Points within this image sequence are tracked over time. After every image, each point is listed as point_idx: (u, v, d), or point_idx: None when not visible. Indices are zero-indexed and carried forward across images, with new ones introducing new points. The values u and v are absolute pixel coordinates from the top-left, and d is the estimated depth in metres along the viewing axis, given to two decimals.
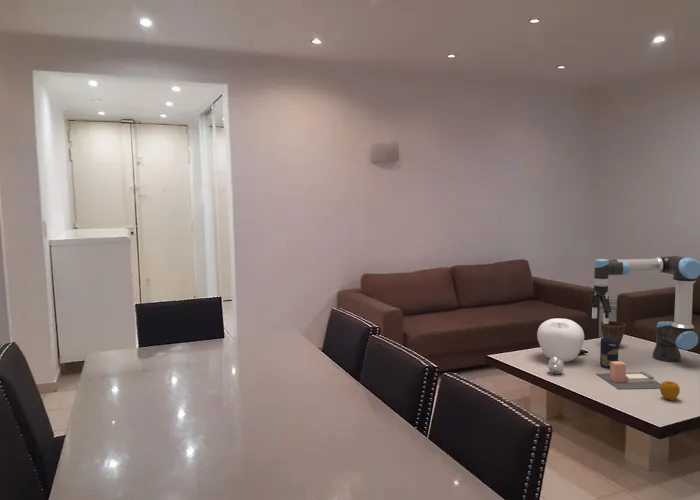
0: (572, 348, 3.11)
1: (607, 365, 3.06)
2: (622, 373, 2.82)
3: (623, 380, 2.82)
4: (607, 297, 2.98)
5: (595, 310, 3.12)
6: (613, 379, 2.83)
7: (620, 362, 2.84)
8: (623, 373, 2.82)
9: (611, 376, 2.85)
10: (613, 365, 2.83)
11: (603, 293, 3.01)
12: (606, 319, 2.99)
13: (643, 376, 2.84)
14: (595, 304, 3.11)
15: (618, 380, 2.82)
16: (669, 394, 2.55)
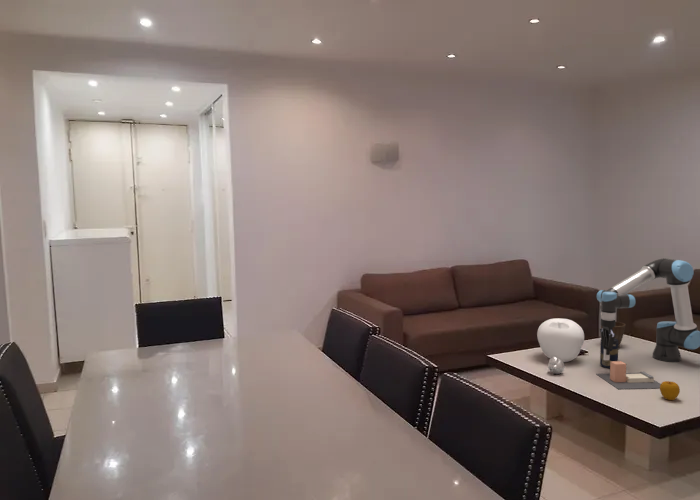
0: (572, 348, 3.11)
1: (607, 365, 3.06)
2: (622, 373, 2.82)
3: (623, 380, 2.82)
4: (613, 336, 2.88)
5: None
6: (613, 379, 2.83)
7: (620, 362, 2.84)
8: (623, 373, 2.82)
9: (611, 376, 2.85)
10: (613, 365, 2.83)
11: (610, 328, 2.90)
12: (607, 356, 2.95)
13: (643, 376, 2.84)
14: None
15: (618, 380, 2.82)
16: (669, 394, 2.55)
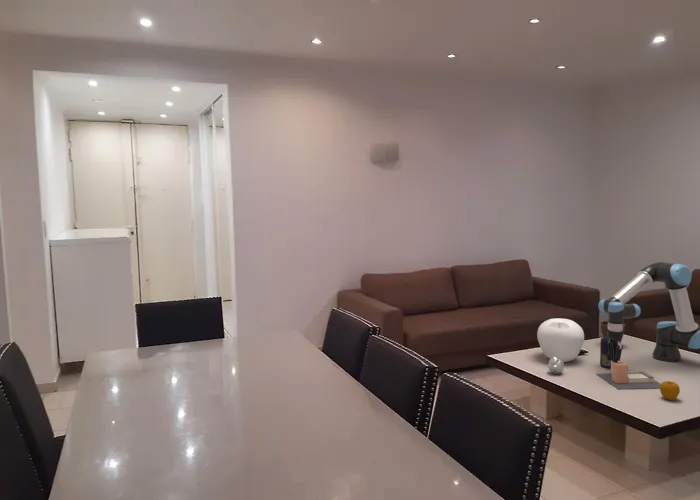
0: (572, 348, 3.11)
1: (607, 365, 3.06)
2: (624, 374, 2.80)
3: (625, 381, 2.80)
4: (621, 348, 2.81)
5: None
6: (615, 380, 2.82)
7: (622, 363, 2.82)
8: (624, 374, 2.80)
9: (613, 377, 2.84)
10: (615, 366, 2.81)
11: (618, 339, 2.83)
12: None
13: (643, 376, 2.84)
14: None
15: (620, 381, 2.80)
16: (669, 394, 2.55)
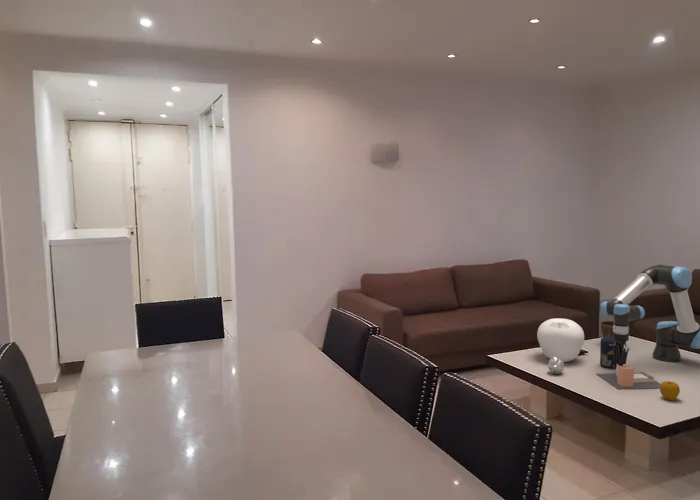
0: (572, 348, 3.11)
1: (607, 365, 3.06)
2: (630, 378, 2.74)
3: (631, 385, 2.75)
4: (627, 351, 2.75)
5: None
6: (620, 384, 2.76)
7: (627, 366, 2.77)
8: (630, 377, 2.74)
9: (618, 381, 2.78)
10: (620, 369, 2.76)
11: (623, 342, 2.77)
12: None
13: (643, 376, 2.84)
14: None
15: (625, 385, 2.75)
16: (669, 394, 2.55)
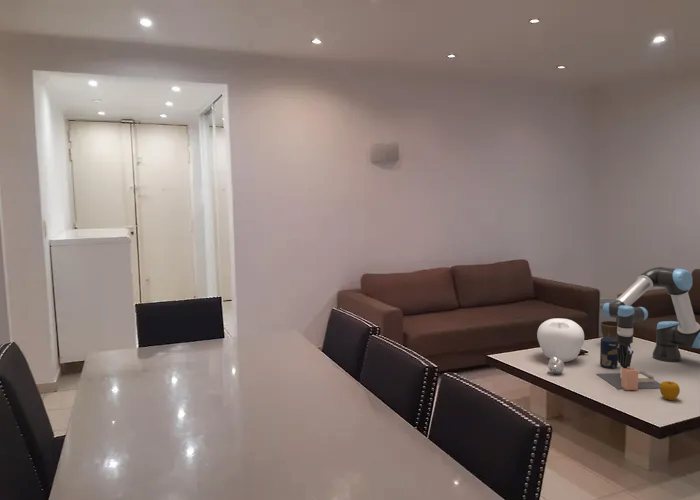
0: (572, 348, 3.11)
1: (607, 365, 3.06)
2: (634, 380, 2.70)
3: (635, 388, 2.71)
4: (631, 353, 2.71)
5: None
6: (625, 387, 2.72)
7: (632, 369, 2.73)
8: (635, 380, 2.70)
9: (622, 383, 2.74)
10: (625, 372, 2.71)
11: (628, 344, 2.73)
12: None
13: (643, 376, 2.84)
14: None
15: (630, 388, 2.71)
16: (669, 394, 2.55)
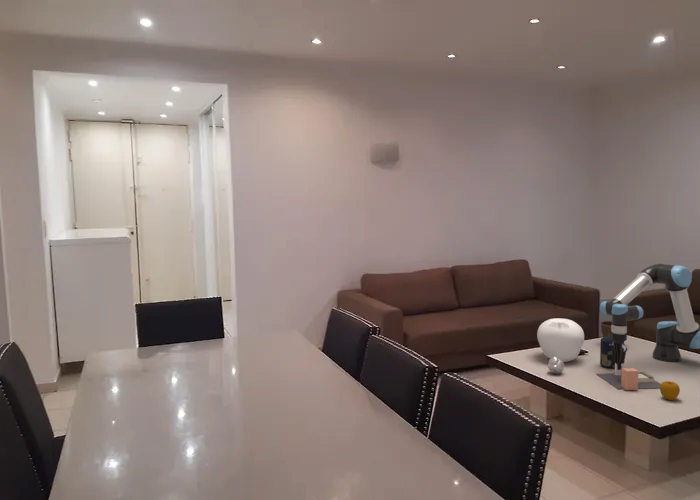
0: (572, 348, 3.11)
1: (607, 365, 3.06)
2: (634, 380, 2.70)
3: (635, 388, 2.71)
4: (625, 350, 2.77)
5: None
6: (625, 387, 2.72)
7: (632, 369, 2.72)
8: (635, 380, 2.70)
9: (622, 383, 2.74)
10: (625, 372, 2.71)
11: (622, 342, 2.79)
12: (618, 370, 2.84)
13: (643, 376, 2.84)
14: None
15: (630, 388, 2.70)
16: (669, 394, 2.55)
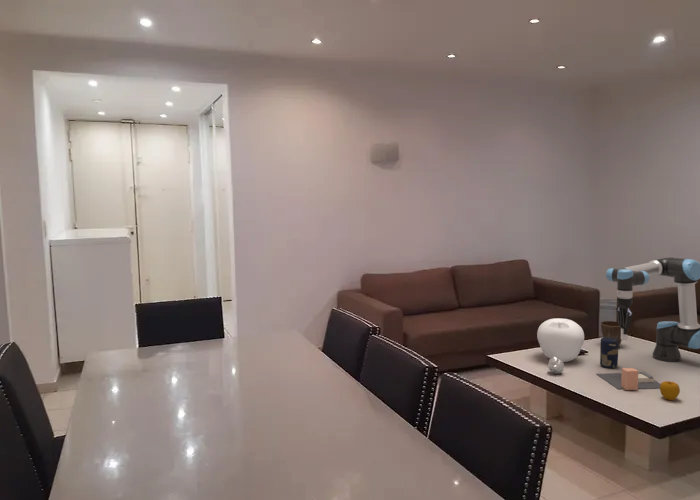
0: (572, 348, 3.11)
1: (607, 365, 3.06)
2: (634, 380, 2.70)
3: (635, 388, 2.71)
4: (631, 314, 2.79)
5: None
6: (625, 387, 2.72)
7: (632, 369, 2.72)
8: (635, 380, 2.70)
9: (622, 383, 2.74)
10: (625, 372, 2.71)
11: (627, 306, 2.81)
12: (624, 335, 2.86)
13: (643, 376, 2.84)
14: None
15: (630, 388, 2.70)
16: (669, 394, 2.55)
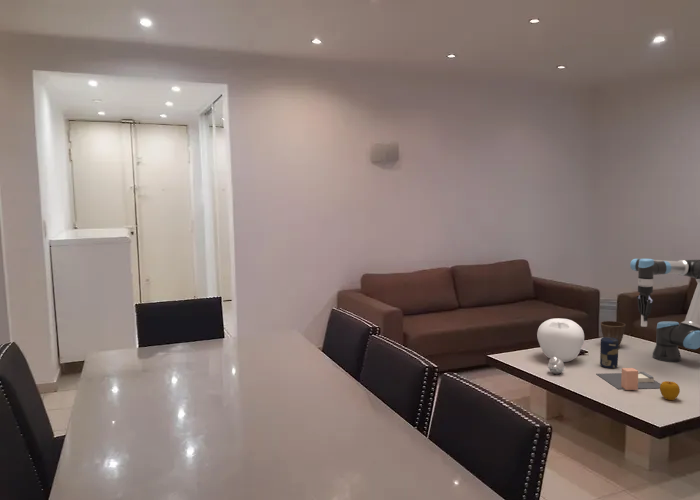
0: (572, 348, 3.11)
1: (607, 365, 3.06)
2: (634, 380, 2.70)
3: (635, 388, 2.71)
4: (651, 302, 2.91)
5: None
6: (625, 387, 2.72)
7: (632, 369, 2.72)
8: (635, 380, 2.70)
9: (622, 383, 2.74)
10: (625, 372, 2.71)
11: (648, 294, 2.93)
12: (645, 322, 2.97)
13: (643, 376, 2.84)
14: None
15: (630, 388, 2.70)
16: (669, 394, 2.55)
